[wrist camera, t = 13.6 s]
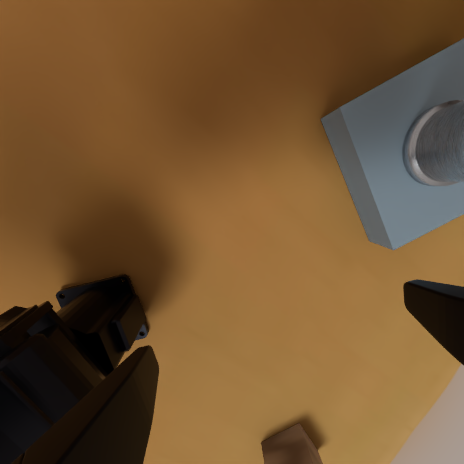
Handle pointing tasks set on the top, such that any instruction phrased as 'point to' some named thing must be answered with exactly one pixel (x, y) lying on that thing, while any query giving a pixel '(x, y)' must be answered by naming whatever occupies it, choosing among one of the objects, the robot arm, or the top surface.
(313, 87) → the top surface
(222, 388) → the top surface
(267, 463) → the offcut block
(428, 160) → the glass shaker
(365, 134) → the stand
